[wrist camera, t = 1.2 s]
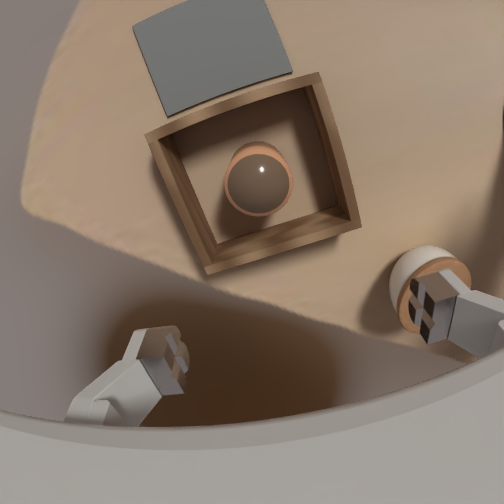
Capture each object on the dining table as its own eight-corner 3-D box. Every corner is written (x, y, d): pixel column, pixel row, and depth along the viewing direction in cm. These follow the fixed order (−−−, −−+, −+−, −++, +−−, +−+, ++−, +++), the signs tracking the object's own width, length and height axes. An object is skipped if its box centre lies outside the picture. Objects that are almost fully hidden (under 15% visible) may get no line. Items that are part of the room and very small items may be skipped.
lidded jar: (453, 266, 38) (487, 302, 30) (400, 312, 42) (424, 355, 34) (423, 216, 35) (462, 249, 27) (363, 269, 39) (388, 313, 30)
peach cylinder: (275, 133, 31) (280, 141, 25) (292, 184, 34) (301, 204, 28) (222, 152, 32) (213, 164, 26) (241, 201, 35) (238, 225, 28)
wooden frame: (309, 76, 28) (318, 71, 24) (348, 210, 35) (361, 227, 31) (159, 129, 31) (144, 134, 26) (212, 253, 38) (207, 275, 33)
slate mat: (253, -21, 23) (253, -22, 23) (292, 71, 28) (293, 71, 28) (133, 26, 25) (132, 26, 25) (168, 116, 30) (167, 116, 30)
